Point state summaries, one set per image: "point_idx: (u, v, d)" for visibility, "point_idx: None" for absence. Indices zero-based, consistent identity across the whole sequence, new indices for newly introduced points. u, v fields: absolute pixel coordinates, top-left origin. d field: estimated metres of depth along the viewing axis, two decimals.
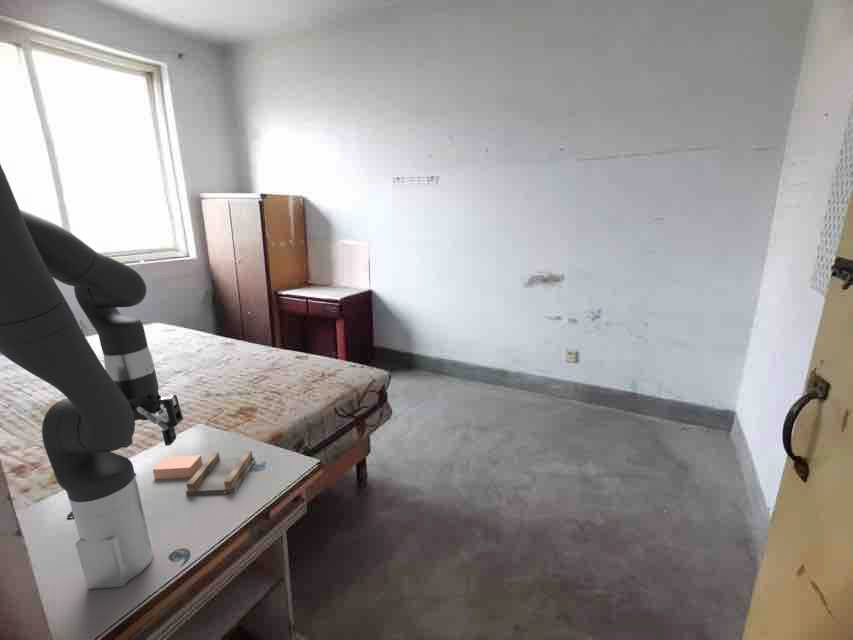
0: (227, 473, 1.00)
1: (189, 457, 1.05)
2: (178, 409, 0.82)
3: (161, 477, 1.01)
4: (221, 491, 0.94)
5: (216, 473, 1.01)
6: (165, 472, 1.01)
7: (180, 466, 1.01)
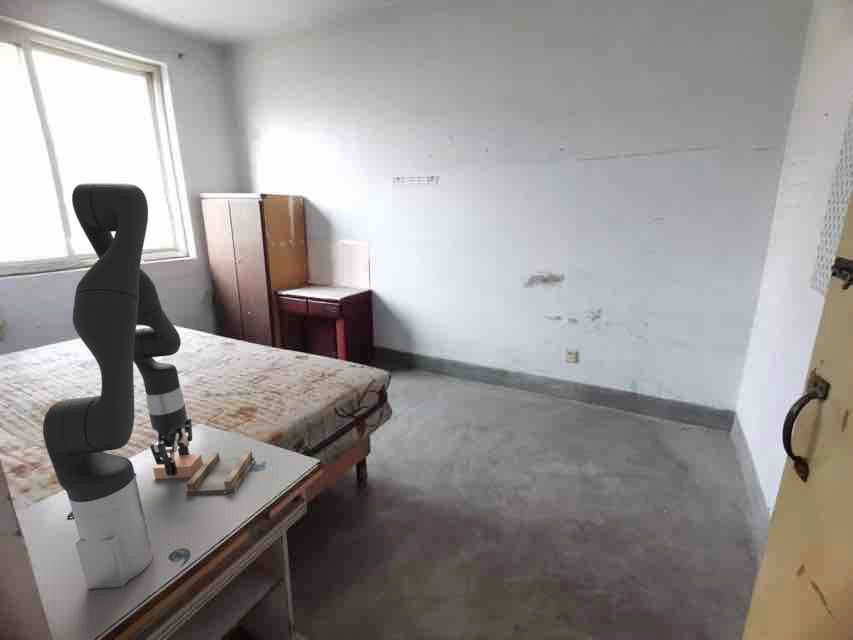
0: (227, 473, 1.00)
1: (189, 456, 1.05)
2: None
3: (161, 476, 1.01)
4: (221, 491, 0.94)
5: (216, 473, 1.01)
6: (165, 471, 1.01)
7: (180, 464, 1.01)
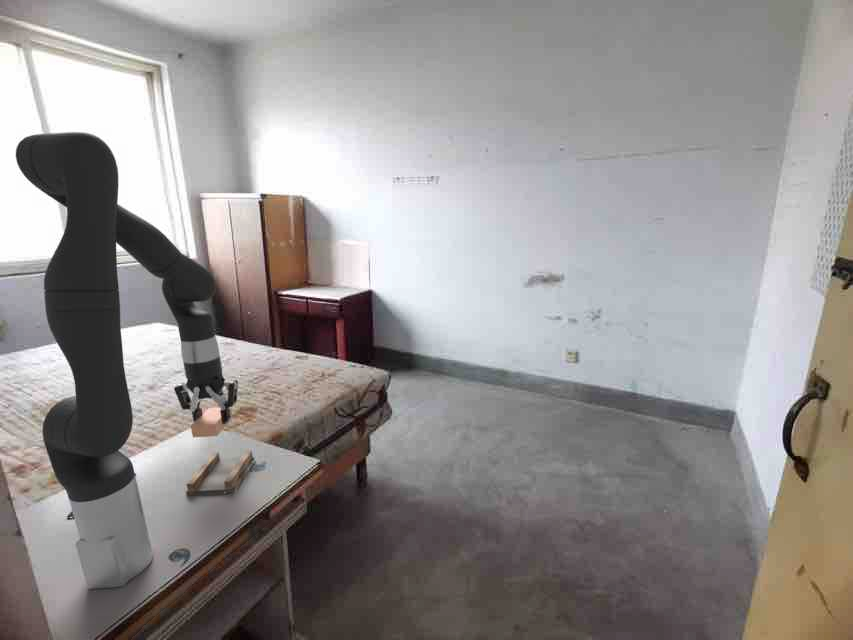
0: (227, 473, 1.00)
1: (207, 412, 0.99)
2: None
3: (219, 429, 0.95)
4: (221, 491, 0.94)
5: (216, 473, 1.01)
6: (221, 422, 0.96)
7: None
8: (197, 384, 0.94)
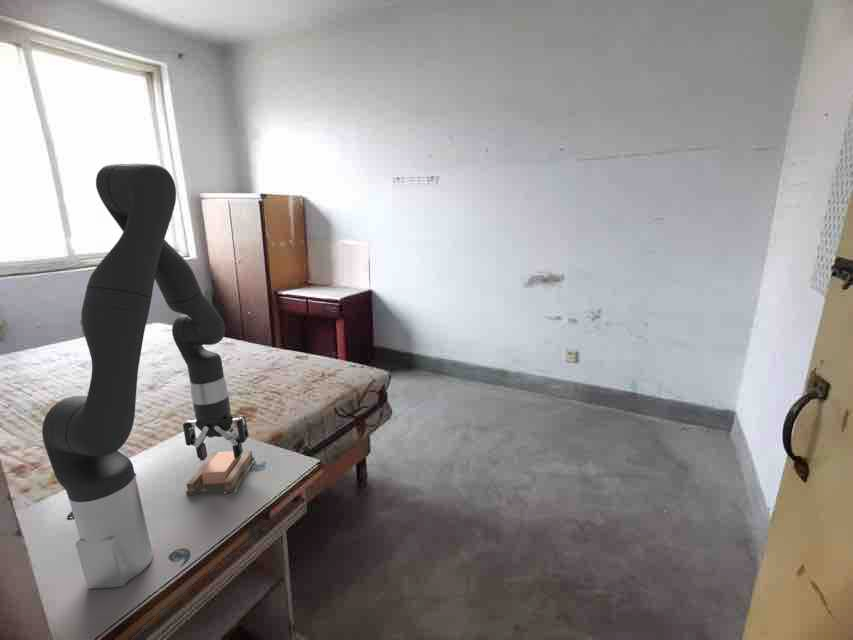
0: None
1: (216, 457, 1.02)
2: None
3: None
4: (221, 491, 0.94)
5: None
6: (230, 468, 0.99)
7: (232, 456, 1.02)
8: (206, 423, 0.97)
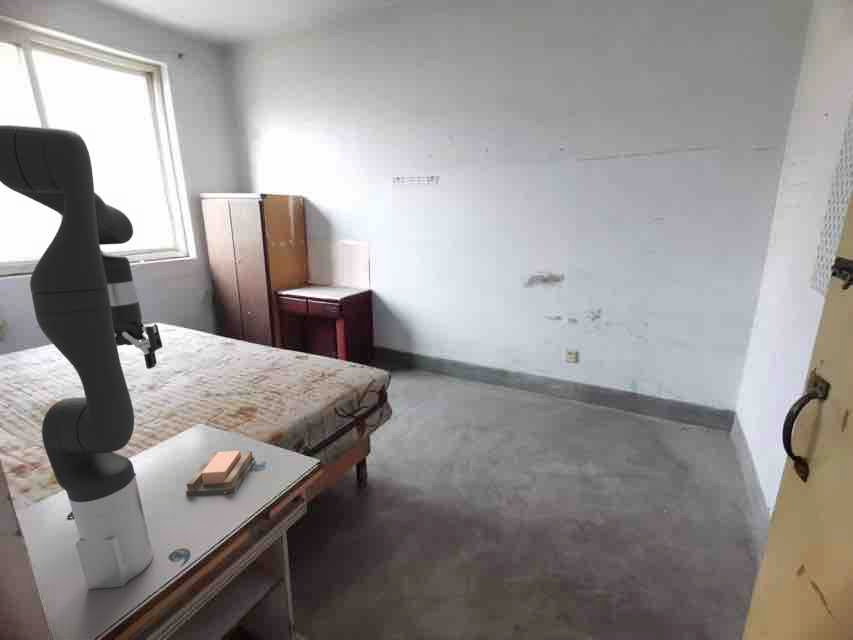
0: None
1: (216, 457, 1.02)
2: None
3: None
4: (221, 491, 0.94)
5: None
6: (230, 468, 0.99)
7: (232, 456, 1.02)
8: (114, 330, 0.93)
